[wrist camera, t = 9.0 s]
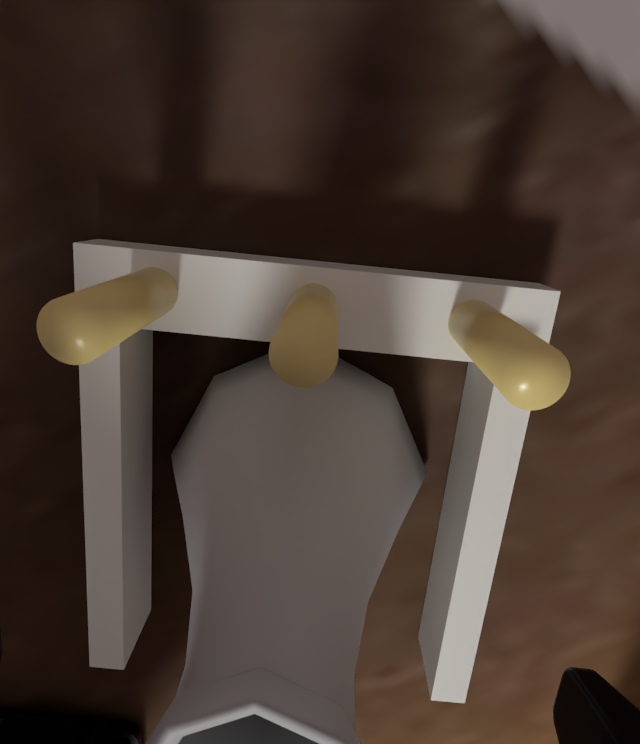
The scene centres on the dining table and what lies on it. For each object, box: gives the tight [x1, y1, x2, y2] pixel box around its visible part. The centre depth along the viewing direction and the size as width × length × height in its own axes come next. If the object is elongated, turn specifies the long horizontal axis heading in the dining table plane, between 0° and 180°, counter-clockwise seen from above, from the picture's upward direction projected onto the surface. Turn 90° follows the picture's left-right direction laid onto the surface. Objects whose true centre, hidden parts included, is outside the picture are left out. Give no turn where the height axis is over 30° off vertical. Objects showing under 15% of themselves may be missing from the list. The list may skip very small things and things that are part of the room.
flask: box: [146, 354, 427, 744], centre depth 12 cm, size 7×7×10 cm
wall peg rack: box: [36, 239, 571, 703], centre depth 14 cm, size 12×12×6 cm
